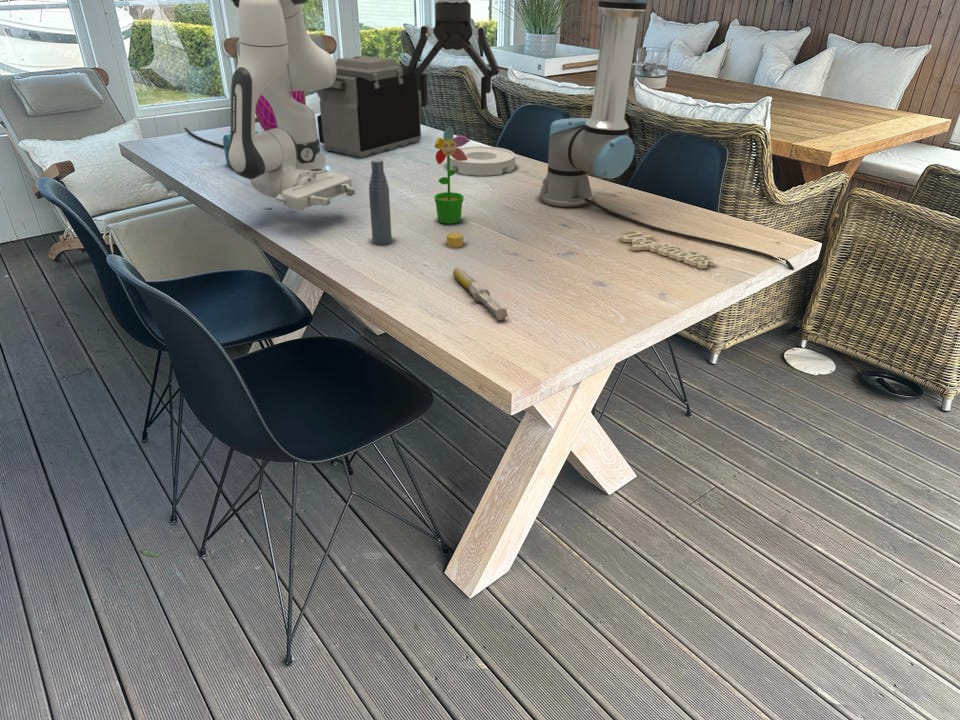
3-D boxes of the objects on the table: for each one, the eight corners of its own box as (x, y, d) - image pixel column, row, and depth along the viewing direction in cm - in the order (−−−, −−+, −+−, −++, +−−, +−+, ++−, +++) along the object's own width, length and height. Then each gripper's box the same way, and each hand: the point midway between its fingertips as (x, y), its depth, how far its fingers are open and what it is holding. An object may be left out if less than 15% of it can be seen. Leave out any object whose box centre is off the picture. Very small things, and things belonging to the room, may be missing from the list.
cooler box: (383, 133, 276) (378, 52, 261) (425, 141, 265) (422, 56, 250) (314, 150, 251) (304, 61, 235) (358, 160, 240) (350, 67, 224)
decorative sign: (607, 237, 173) (632, 229, 179) (607, 241, 174) (631, 232, 180) (698, 269, 156) (722, 258, 162) (697, 273, 157) (721, 262, 163)
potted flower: (440, 227, 182) (438, 129, 169) (428, 218, 188) (425, 123, 175) (472, 221, 185) (472, 126, 173) (459, 213, 191) (459, 120, 179)
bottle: (393, 238, 174) (389, 158, 164) (389, 245, 170) (384, 163, 160) (375, 237, 175) (370, 157, 165) (370, 244, 171) (364, 162, 161)
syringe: (449, 274, 155) (449, 263, 153) (465, 272, 156) (464, 260, 154) (490, 323, 135) (491, 310, 133) (508, 319, 136) (508, 307, 134)
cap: (451, 240, 174) (451, 231, 172) (465, 243, 172) (465, 233, 171) (444, 246, 170) (443, 236, 169) (458, 248, 169) (458, 239, 168)
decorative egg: (293, 132, 276) (283, 50, 261) (319, 140, 264) (310, 56, 249) (249, 139, 265) (236, 54, 250) (273, 148, 253) (261, 60, 238)
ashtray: (449, 157, 245) (449, 145, 243) (514, 158, 244) (514, 146, 242) (444, 174, 225) (444, 162, 223) (515, 176, 224) (515, 164, 222)
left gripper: (269, 185, 171) (310, 195, 165) (326, 166, 186) (365, 175, 180) (273, 210, 175) (313, 220, 168) (328, 189, 189) (367, 198, 183)
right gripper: (514, 1, 145) (510, 106, 156) (400, -2, 149) (404, 101, 160) (509, 3, 139) (506, 112, 150) (390, 0, 142) (395, 107, 153)
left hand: (340, 197), depth 174 cm, fingers open, 8 cm apart
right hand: (453, 107), depth 155 cm, fingers open, 13 cm apart
